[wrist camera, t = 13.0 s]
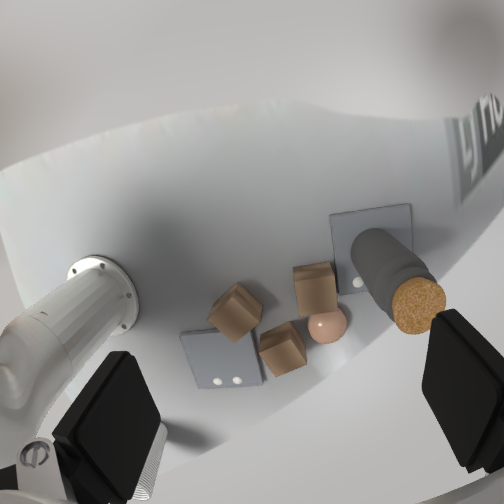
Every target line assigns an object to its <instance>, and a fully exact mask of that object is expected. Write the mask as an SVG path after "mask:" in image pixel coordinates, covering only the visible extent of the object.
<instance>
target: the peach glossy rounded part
mask: <svg viewBox="0 0 504 504" xmlns="http://www.w3.org/2000/svg"><path fill="white" fill-rule="evenodd" d="M307 325H308V329H309V332H310V334H311V336H312V338H313V339H314V340H315V341H317V342H319V343H323V344H329V343H333V342H335V341H337V340H339V339H340V338H341V337H342V336H343V335H344V333H345V331H346V328H347V320H346V317H345V315H344V314H343V312H342V311H341V310H340V309H339V308H338V311H335V312H329V313H322V314H316V315H310V316H309V317H308V322H307Z"/></svg>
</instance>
